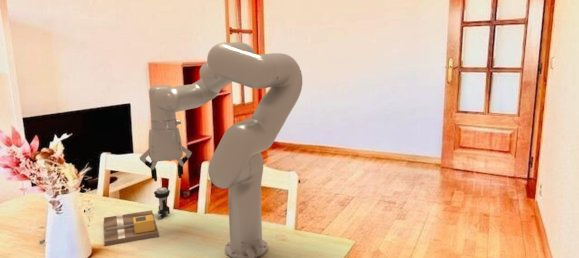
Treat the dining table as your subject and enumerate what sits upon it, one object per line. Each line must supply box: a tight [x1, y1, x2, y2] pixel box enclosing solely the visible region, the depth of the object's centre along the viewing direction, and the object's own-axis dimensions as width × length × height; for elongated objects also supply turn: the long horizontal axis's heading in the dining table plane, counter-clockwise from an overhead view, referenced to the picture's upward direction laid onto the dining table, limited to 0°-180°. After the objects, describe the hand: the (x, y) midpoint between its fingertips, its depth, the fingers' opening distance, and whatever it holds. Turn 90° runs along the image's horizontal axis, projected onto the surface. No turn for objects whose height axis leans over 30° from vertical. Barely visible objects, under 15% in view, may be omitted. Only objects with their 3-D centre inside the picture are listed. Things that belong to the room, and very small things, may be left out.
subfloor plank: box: [103, 209, 160, 247], centre depth 145 cm, size 20×16×2 cm
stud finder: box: [133, 214, 155, 234], centre depth 141 cm, size 5×6×4 cm
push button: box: [153, 187, 171, 220], centre depth 154 cm, size 7×5×10 cm
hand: (167, 178), depth 141 cm, fingers open, 7 cm apart
